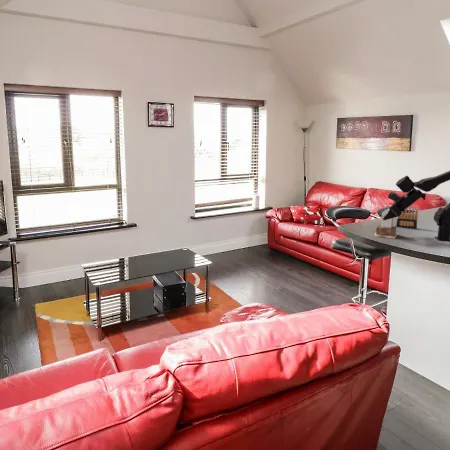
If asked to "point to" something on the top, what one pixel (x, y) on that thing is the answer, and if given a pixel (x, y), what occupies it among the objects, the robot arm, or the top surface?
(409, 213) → the ammunition clip
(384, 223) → the metal bar
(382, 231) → the socket block
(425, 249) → the top surface
